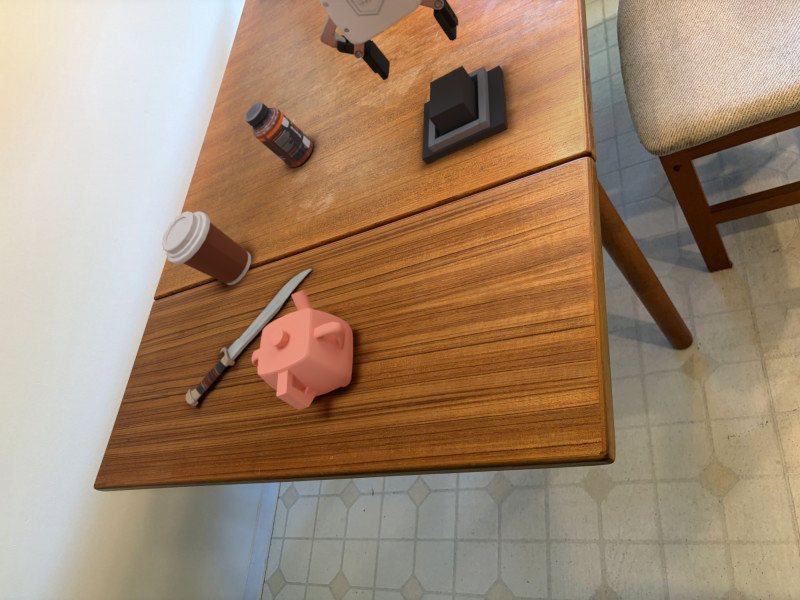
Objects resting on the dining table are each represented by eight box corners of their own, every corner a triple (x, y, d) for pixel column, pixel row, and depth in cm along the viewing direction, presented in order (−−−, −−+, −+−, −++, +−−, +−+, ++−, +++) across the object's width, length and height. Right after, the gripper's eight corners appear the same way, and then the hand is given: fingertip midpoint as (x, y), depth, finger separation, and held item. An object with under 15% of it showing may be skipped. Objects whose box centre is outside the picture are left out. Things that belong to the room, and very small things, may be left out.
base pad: (503, 71, 76) (495, 58, 74) (507, 128, 70) (499, 116, 68) (428, 109, 82) (419, 97, 80) (426, 164, 76) (417, 153, 75)
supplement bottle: (320, 140, 96) (272, 94, 88) (304, 169, 95) (254, 125, 87) (300, 140, 100) (252, 97, 92) (284, 168, 99) (234, 126, 91)
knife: (301, 255, 82) (311, 269, 78) (309, 261, 83) (318, 275, 79) (182, 386, 84) (185, 406, 80) (191, 391, 85) (194, 411, 81)
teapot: (334, 308, 74) (282, 274, 67) (383, 350, 65) (330, 316, 59) (282, 378, 74) (224, 351, 67) (324, 430, 65) (263, 404, 58)
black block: (476, 86, 75) (462, 65, 73) (478, 123, 72) (463, 101, 69) (444, 102, 78) (429, 82, 75) (444, 138, 75) (428, 118, 72)
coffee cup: (216, 266, 97) (156, 230, 89) (253, 234, 95) (195, 194, 86) (220, 302, 91) (156, 268, 83) (260, 270, 88) (198, 230, 80)
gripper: (258, -6, 58) (361, 105, 70) (392, -113, 49) (484, 36, 61) (270, -46, 62) (366, 67, 74) (397, -151, 53) (482, -4, 65)
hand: (419, 53), depth 67 cm, fingers open, 9 cm apart
